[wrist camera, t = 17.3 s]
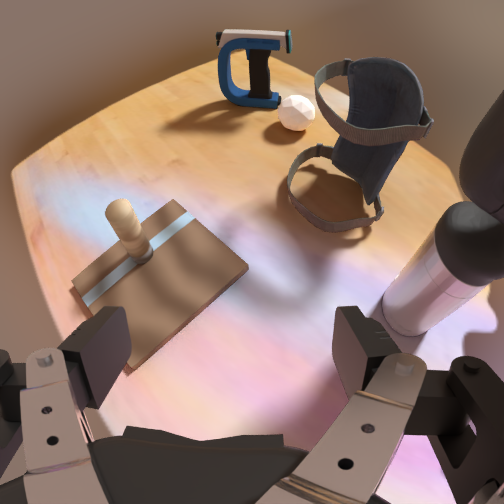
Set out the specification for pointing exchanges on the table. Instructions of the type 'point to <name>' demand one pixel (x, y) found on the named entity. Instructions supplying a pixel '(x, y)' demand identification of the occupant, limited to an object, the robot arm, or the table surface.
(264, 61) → the handheld scanner
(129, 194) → the table surface
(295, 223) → the table surface
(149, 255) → the tan round-topped cylinder
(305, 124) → the ball
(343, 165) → the knee pad
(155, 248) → the board
